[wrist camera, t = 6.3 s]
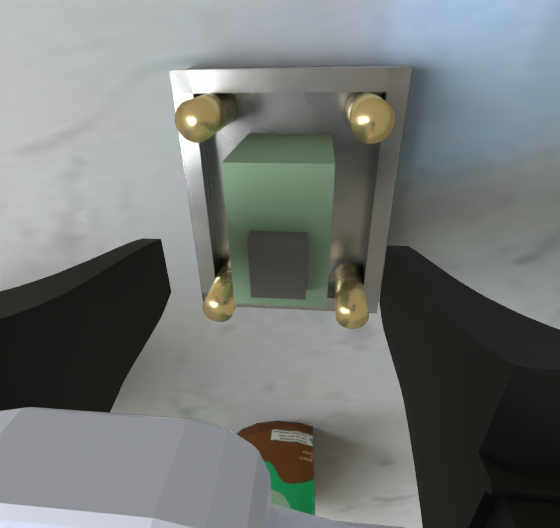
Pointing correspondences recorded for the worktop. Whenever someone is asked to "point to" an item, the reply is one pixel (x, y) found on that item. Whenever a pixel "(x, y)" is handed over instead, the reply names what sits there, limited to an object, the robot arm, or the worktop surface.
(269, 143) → the block
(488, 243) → the worktop surface
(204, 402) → the worktop surface
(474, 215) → the worktop surface
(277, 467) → the food container
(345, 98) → the chassis
